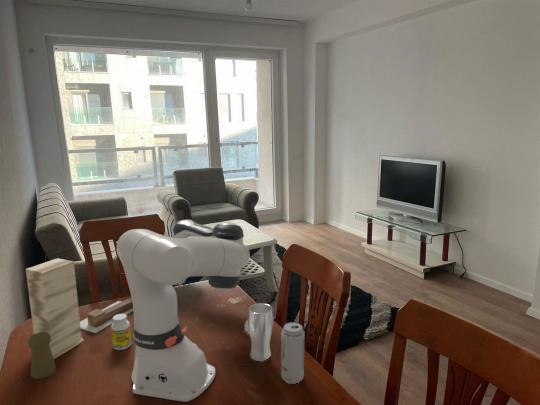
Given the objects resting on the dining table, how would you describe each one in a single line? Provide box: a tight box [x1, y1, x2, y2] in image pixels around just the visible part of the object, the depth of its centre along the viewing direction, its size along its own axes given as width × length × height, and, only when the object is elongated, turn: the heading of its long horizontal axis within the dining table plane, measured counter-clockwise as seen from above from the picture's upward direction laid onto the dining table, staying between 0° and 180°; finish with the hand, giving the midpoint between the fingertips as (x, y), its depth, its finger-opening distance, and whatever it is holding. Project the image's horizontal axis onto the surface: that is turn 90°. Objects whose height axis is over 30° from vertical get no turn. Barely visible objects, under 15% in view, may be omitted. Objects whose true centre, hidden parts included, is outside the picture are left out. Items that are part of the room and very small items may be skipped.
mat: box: [80, 300, 133, 334], centre depth 135 cm, size 10×20×1 cm, turn 157°
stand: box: [25, 257, 84, 360], centre depth 114 cm, size 9×10×26 cm
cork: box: [27, 332, 57, 380], centre depth 104 cm, size 6×6×11 cm
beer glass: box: [247, 302, 274, 362], centre depth 111 cm, size 7×7×15 cm
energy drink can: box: [280, 321, 306, 385], centre depth 101 cm, size 6×6×15 cm
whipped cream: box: [244, 318, 250, 334], centre depth 125 cm, size 8×7×5 cm
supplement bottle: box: [110, 314, 132, 351], centre depth 116 cm, size 5×5×10 cm
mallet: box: [86, 296, 133, 328], centre depth 135 cm, size 4×18×4 cm, turn 150°
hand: (137, 268), depth 145 cm, fingers open, 8 cm apart
